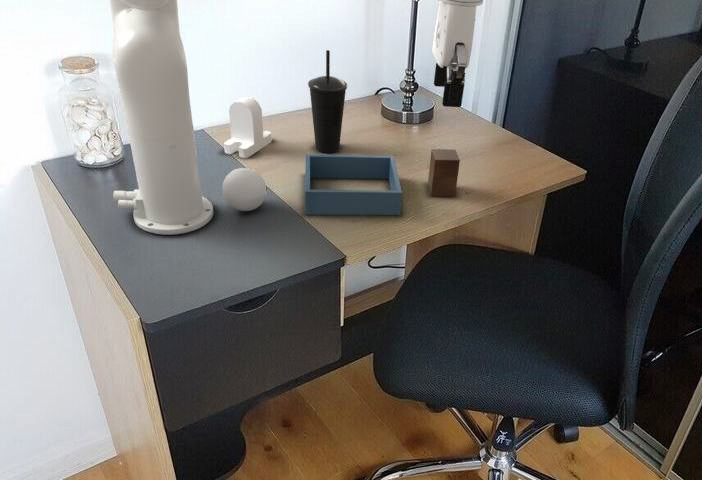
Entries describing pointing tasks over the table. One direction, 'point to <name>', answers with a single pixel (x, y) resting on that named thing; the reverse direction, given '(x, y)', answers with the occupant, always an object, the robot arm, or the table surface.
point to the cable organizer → (246, 128)
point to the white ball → (244, 189)
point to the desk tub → (352, 199)
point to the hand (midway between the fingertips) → (446, 95)
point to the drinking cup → (327, 109)
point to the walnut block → (443, 172)
